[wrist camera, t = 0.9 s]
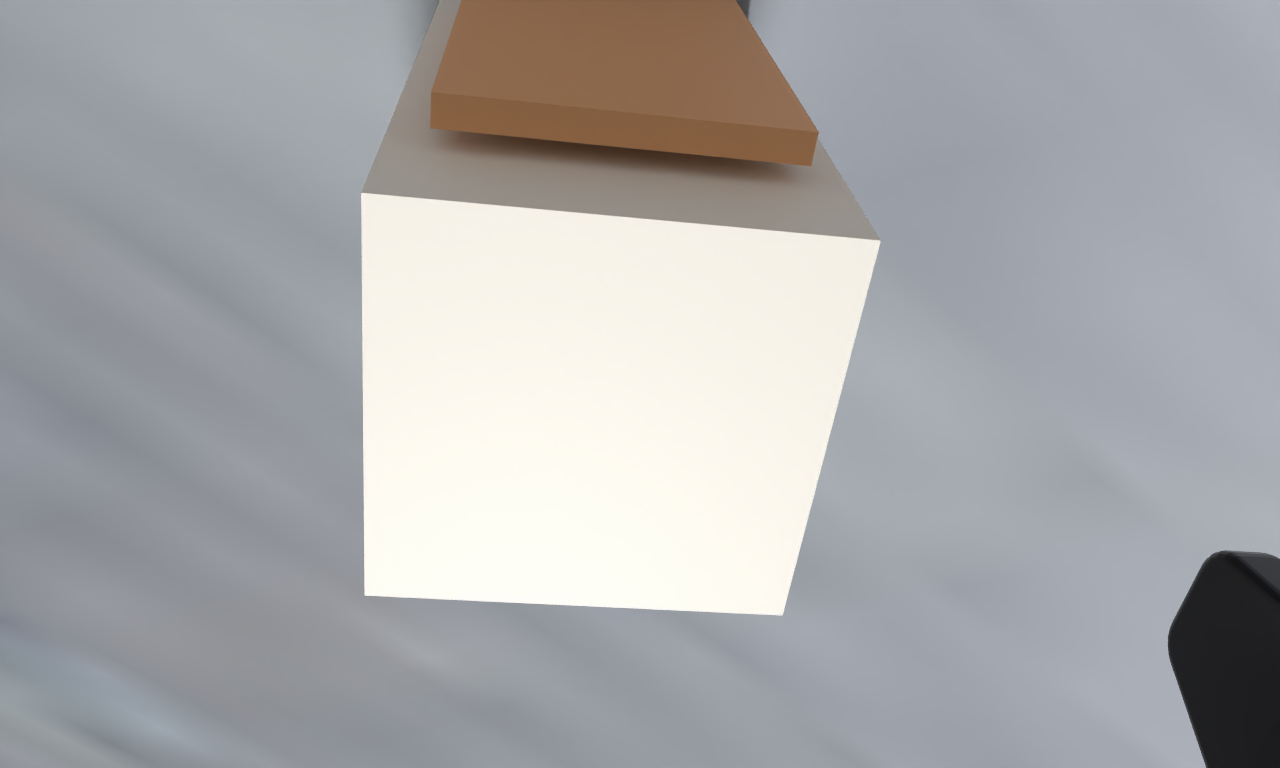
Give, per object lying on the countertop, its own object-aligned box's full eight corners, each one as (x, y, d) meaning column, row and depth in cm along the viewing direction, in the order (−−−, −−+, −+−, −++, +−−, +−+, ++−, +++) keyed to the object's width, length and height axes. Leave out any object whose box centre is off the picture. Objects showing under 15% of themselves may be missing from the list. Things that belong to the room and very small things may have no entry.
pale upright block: (445, -52, 14) (359, 127, 8) (754, -15, 14) (895, 180, 8) (435, 268, 16) (364, 595, 10) (701, 291, 16) (782, 615, 11)
